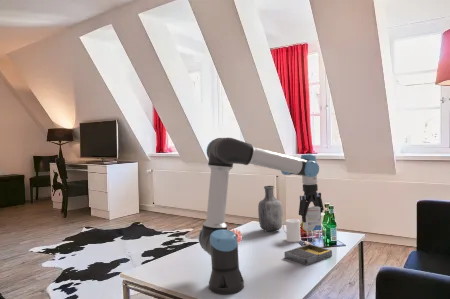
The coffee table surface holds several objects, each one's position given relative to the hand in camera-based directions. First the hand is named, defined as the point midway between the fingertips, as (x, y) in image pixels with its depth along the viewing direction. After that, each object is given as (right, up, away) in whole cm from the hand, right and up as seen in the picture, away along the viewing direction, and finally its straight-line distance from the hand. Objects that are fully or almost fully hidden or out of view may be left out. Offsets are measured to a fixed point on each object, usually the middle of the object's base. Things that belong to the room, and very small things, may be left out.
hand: (312, 226), depth 180 cm
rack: (-2, -15, -2) cm, 16 cm away
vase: (-15, -15, +50) cm, 54 cm away
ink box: (0, -2, 0) cm, 2 cm away
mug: (-5, -15, +29) cm, 33 cm away
